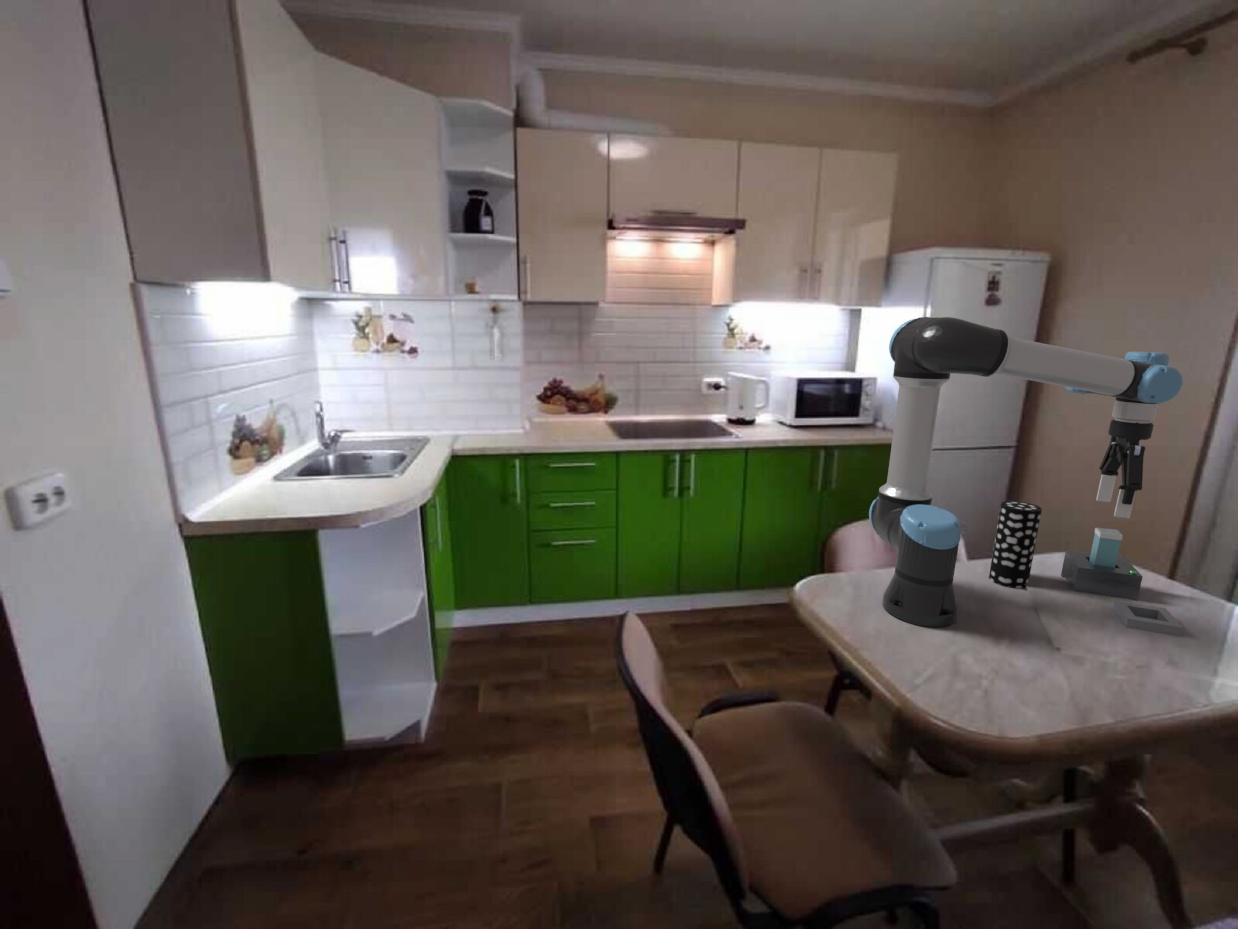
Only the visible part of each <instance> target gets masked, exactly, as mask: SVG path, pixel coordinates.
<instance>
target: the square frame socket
mask: <svg viewBox="0 0 1238 929" xmlns="http://www.w3.org/2000/svg"><path fill="white" fill-rule="evenodd" d="M1111 610H1112V611H1114V613H1115V615H1116V616H1117V618H1119V620H1120V621H1121V623H1122V624H1123V625H1124V626H1125V628H1128V629H1129V628H1130V629H1133V630H1134V629H1135V630H1140V631H1146V632H1153V633H1158V634H1162V635H1163V634H1164V635H1170V636H1174V637H1175V636H1176V637H1182V636H1183V635H1182V634H1183V632H1184V626H1182V624H1180V622H1179V620H1177V619H1176V618H1175V617H1174V616H1173V615H1172V613H1170V611H1169V610H1168V609H1167V608H1163V607H1157V606H1151V605H1145V604H1137V603H1134V602H1133V603H1132V602H1125V601H1118V600H1113V604H1112V609H1111Z"/></svg>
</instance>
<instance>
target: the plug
mask: <svg viewBox="0 0 1238 929" xmlns="http://www.w3.org/2000/svg"><path fill="white" fill-rule="evenodd" d="M1123 536H1124V535H1122V533H1121V532H1120V531H1119V530H1118V529H1112V528H1103V527H1102V528H1101V527H1095V528H1094V537H1093V540H1092V546H1091V551H1090V553H1091V555H1090V559H1089V562H1090V563H1091V565H1097V566H1104V567H1111V568H1115V566H1116V562H1117V557H1119V551H1120V547H1121V544H1122V540H1123Z"/></svg>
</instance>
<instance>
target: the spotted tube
mask: <svg viewBox="0 0 1238 929" xmlns="http://www.w3.org/2000/svg"><path fill="white" fill-rule="evenodd" d="M1042 510H1043V509H1042V507H1041V506H1039V505H1037V504H1034V503H1031V502H1025V501H1019V500H1018V501H1017V500H1004V501H1001V503H1000V507H999V514H998V519H997V520H998V521H997V526H996V532H995V538H994V545H993V549H992V555H991V562H990V569H989V574H988V579H989V580H990V581H991V582H992V583H995V584H997V585H1000V586H1002V587H1006V588H1011V589H1025V588H1027V586H1026V585H1027V584H1029V581H1030V576H1031V570H1032V565H1033V559H1034V554H1035V551H1036V550H1035V547H1036V543H1037V539H1038V532H1039V526H1040V521H1041V516H1042V512H1043V511H1042Z"/></svg>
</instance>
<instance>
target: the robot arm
mask: <svg viewBox="0 0 1238 929" xmlns="http://www.w3.org/2000/svg"><path fill="white" fill-rule="evenodd" d="M888 350H889V355H890V358H891V359H892V361H893V362H894V366H893V374H892V377H893V379H894V380H895V381H896V382H897V383H898V393H897V399H896V400H897V401H896V407H895V408H896V409H895V417H894V425H893V432H892V438H891V439H892V440H891V448H890V449H891V450H890V456H889V462H888V464H889V465H888V469H887V470H888V473H887V478H886V483H884V484H883V485H881V486H880V487H879V489H878V495H877V497H876V498H875V499H874V500H873V501H872V503H871V504H870V507H869V511H868V517H869V519H868V520H869V522H870V524H871V527H872V529H873V530H874V532H875V533H876V534H877V535H878V536H879V537H880V538H881V539H882V540H884V541H885V542H886V543H887V544H888V545H889V546H891V547H892V548H893V549H894V550H895V551H896V559H895V569H894V575H893V576H892V578H891V579H890V581H889V583H888V585H887V587H886V589H885V591H884V593H883V594H882V595H883V597H882V607H883V609H884V610H885V611H886V612H887V613H888V614H890V615H891V616H893V617H895V618H896V619H899V620H901V621H902V622H903V621H904V622H906V623H910V624H914V625H916V626H917V625H918V626H923V627H930V628H931V627H932V628H935V627H936V628H940V627H941V628H942V627H949V626H951V625H953V624H954V623H955V622H957V619H958V615H959V614H958V613H959V608H958V603H957V599H956V594H955V590H954V576H955V570H956V563H957V558H958V552H959V546H960V541H961V538H962V536H961V535H962V534H961V526H962V525H961V522H960V520H959V518H958V516H956V515H955V514H954V513H952V512H951V511H950V510H947V509H945V508H940V507H938V506H934V505H932V501H933V494H932V493H931V492H930V491H929V489H928V488H927V485H928V484H927V483H928V477H929V471H930V465H931V464H930V463H931V457H932V456H931V455H932V450H933V442H934V437H935V436H934V435H935V430H936V424H937V423H936V421H937V417H938V416H937V415H938V410H939V401H940V394H941V390H942V386H944V384H945V383H947V382H948V381H950V379H951V374H960V375H972V376H978V377H979V376H980V377H985V378H987V377H992V376H994V375H995V374H996V375H1000V376H1001V375H1002V376H1006V377H1012V378H1017V379H1022V380H1028V381H1033V382H1037V383H1044V384H1049V385H1054V386H1058V387H1059V386H1060V387H1064V388H1065V389H1066V390H1067V391H1068V392H1069V393H1074V394H1081V395H1085V394H1094V395H1099V396H1107V397H1112V398H1115V400H1114V404H1113V407H1112V408H1113V409H1112V413H1111V416H1112V418H1113V419H1112V420H1110V423H1109V428H1108V435H1109V436H1111V437H1110V441H1109V444H1108V447H1107V449H1106V452H1105V454H1104V456H1103V459H1102V461H1101V464H1100V466H1099V470H1100V473H1101V476H1100V480H1099V485H1098V490H1097V493H1096V498H1095V500H1096V501H1097V502H1104V503H1111V501H1112V498H1113V493H1114V488H1115V485H1116V480H1117V477H1118V476H1119V469H1120V467H1121V485H1119V486H1118V490H1119V492H1118V495H1117V500H1116V503H1115V504H1116V505H1115V509H1114V513H1113V517H1116V518H1123V519H1131V514H1132V510H1133V507H1134V502H1135V498H1136V495H1137V492H1138V491H1142V490H1143V474H1144V473H1143V472H1144V456H1145V450H1146V446H1144V445H1143V446H1142V445H1140V441H1142V440H1144V441H1147V440H1149V439H1151V438H1152V433H1153V430H1154V426H1155V425H1154V424H1153V421H1156V417H1157V413H1158V412H1160V411H1161V407H1160V406H1159V404H1163V403H1166V402H1169V401H1171V400H1173V399H1174V398H1175V397H1176V396H1178V394H1179V392H1180V390H1181V389H1182V386H1183V377H1182V374H1181V372H1180V371H1179V369H1177V368H1175V367H1173V366H1170V365H1169V363H1170V361H1169V360H1170V356H1169V355H1168V354H1167V353H1166V352H1159V351H1158V352H1155V351H1128V352H1126V354H1125V356H1124V358H1120V357H1116V356H1110V355H1105V354H1101V353H1100V354H1099V353H1095V352H1089V351H1084V350H1079V349H1074V348H1069V347H1063V346H1057V345H1053V344H1047V343H1042V342H1038V341H1033V340H1027V339H1022V338H1016V337H1011V336H1009V334H1008V332H1007V331H1006V330H1003V329H999V328H993V327H989V326H987V325H982V324H978V323H975V322H971V321H968V320H965V319H961V318H957V317H953V316H952V317H951V316H950V317H949V316H947V317H946V316H945V317H941V316H940V317H938V316H937V317H930V316H924V317H923V316H922V317H920V316H919V317H917V318H913V319H909V320H908V321H905V322H903V323H902V324H901V325H899V327H897V328H896V329H895V331H894V332H893V334H892V336H891V337H890V340H889V344H888Z"/></svg>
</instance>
